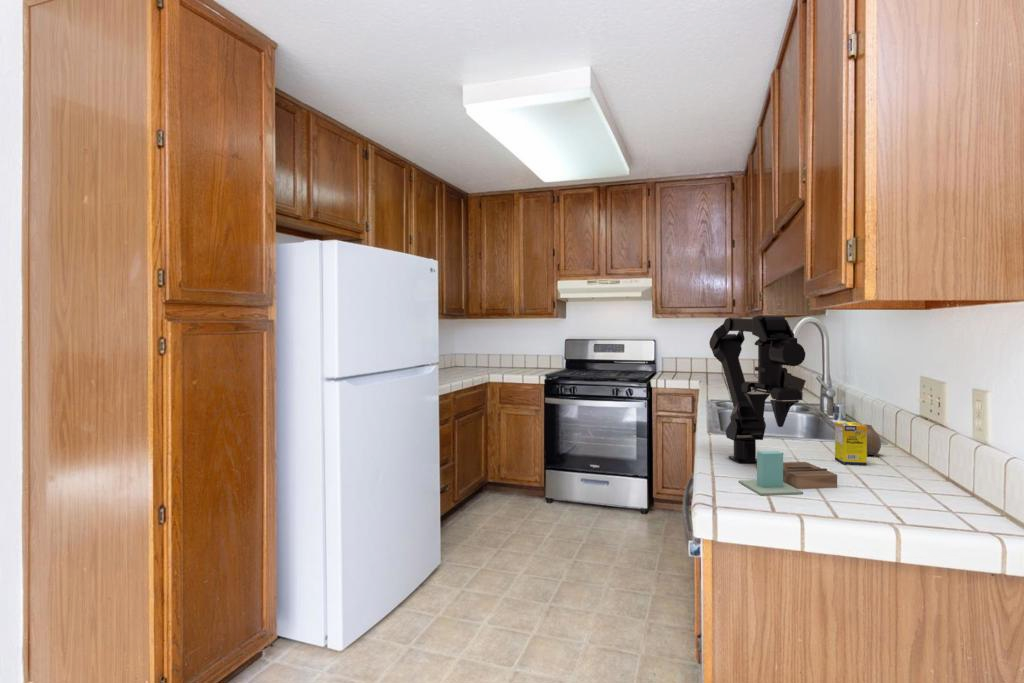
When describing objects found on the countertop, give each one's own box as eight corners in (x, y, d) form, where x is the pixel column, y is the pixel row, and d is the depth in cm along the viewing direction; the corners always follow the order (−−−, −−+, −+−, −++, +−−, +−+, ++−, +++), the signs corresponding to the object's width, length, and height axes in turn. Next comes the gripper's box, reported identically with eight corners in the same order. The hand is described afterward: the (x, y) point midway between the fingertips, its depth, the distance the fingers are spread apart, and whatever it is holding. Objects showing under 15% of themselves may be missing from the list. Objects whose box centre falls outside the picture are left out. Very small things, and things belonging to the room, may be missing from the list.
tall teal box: (756, 484, 125) (757, 451, 125) (777, 484, 125) (777, 450, 125) (762, 487, 122) (762, 453, 122) (782, 487, 123) (783, 453, 123)
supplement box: (867, 465, 143) (867, 425, 142) (843, 464, 144) (843, 425, 143) (857, 460, 148) (858, 421, 148) (834, 459, 150) (834, 421, 149)
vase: (886, 457, 151) (886, 427, 151) (862, 457, 151) (862, 427, 151) (870, 451, 158) (870, 422, 158) (847, 451, 158) (847, 423, 158)
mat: (738, 482, 128) (738, 480, 128) (777, 481, 129) (777, 479, 129) (760, 495, 118) (760, 493, 118) (803, 494, 119) (803, 491, 119)
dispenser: (768, 474, 135) (768, 461, 135) (805, 473, 136) (805, 460, 136) (796, 488, 123) (796, 474, 123) (837, 487, 124) (837, 473, 124)
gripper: (824, 365, 127) (823, 429, 127) (779, 360, 145) (779, 416, 146) (779, 366, 126) (779, 430, 126) (740, 361, 145) (740, 417, 145)
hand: (770, 423), depth 136 cm, fingers open, 9 cm apart
